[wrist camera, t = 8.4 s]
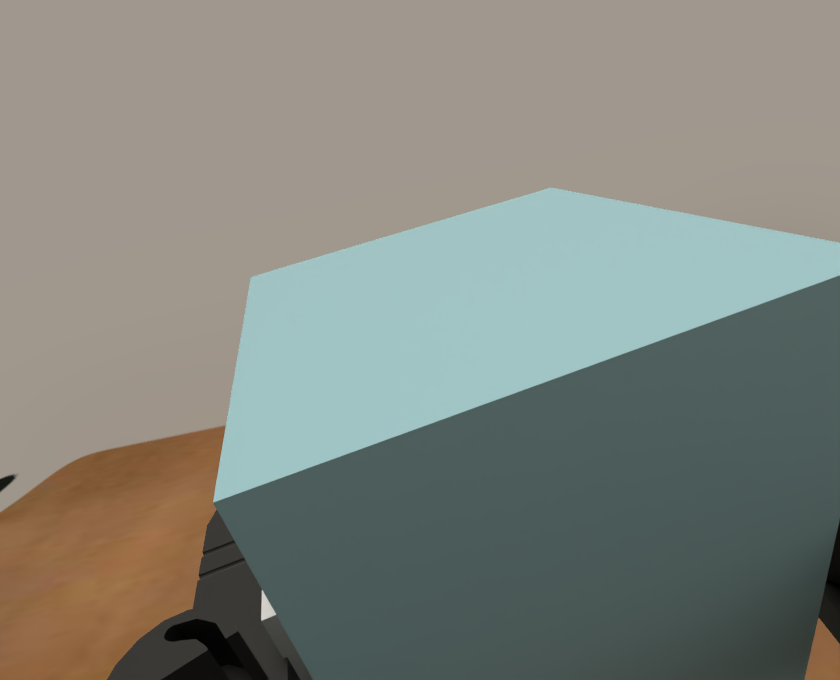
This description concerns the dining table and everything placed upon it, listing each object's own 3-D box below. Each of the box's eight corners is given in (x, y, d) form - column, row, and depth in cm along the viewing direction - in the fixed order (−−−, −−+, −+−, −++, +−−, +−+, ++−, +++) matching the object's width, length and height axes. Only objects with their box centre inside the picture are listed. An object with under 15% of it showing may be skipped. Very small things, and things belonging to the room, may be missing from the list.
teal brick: (489, 991, 7) (214, 502, 3) (407, 664, 12) (251, 277, 7) (769, 835, 8) (899, 253, 4) (592, 583, 12) (551, 187, 8)
